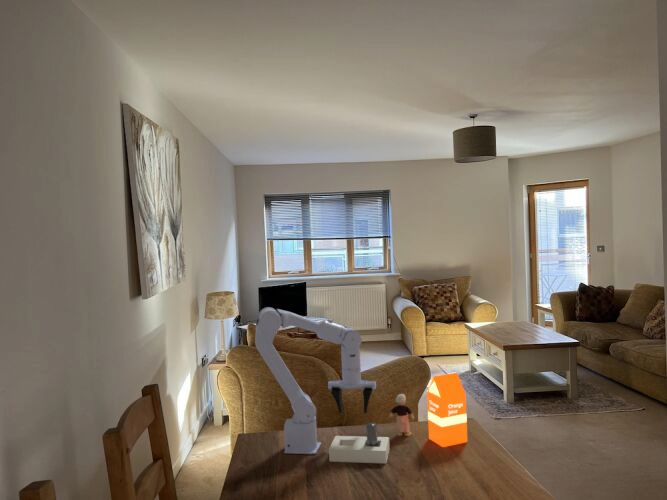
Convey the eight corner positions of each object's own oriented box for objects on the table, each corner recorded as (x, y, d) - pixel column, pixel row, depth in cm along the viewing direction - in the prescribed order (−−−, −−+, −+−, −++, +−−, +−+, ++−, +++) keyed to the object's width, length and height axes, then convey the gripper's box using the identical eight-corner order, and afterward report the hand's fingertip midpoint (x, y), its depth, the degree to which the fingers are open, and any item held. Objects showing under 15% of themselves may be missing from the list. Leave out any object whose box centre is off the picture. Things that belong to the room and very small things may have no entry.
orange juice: (428, 438, 161) (425, 373, 161) (453, 433, 164) (450, 369, 164) (442, 447, 154) (440, 379, 153) (468, 442, 157) (465, 375, 156)
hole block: (329, 461, 148) (328, 449, 148) (336, 447, 158) (335, 435, 157) (386, 463, 145) (385, 450, 145) (389, 449, 154) (389, 437, 154)
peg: (366, 457, 149) (365, 426, 149) (369, 453, 152) (367, 422, 152) (377, 458, 148) (375, 426, 148) (379, 454, 151) (377, 423, 151)
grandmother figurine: (414, 431, 167) (412, 392, 167) (415, 436, 163) (413, 395, 163) (390, 432, 168) (388, 392, 168) (390, 436, 164) (388, 396, 164)
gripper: (325, 371, 158) (327, 416, 158) (373, 371, 155) (375, 416, 155) (329, 365, 164) (332, 408, 165) (376, 365, 162) (378, 409, 162)
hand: (353, 412), depth 160 cm, fingers open, 7 cm apart
